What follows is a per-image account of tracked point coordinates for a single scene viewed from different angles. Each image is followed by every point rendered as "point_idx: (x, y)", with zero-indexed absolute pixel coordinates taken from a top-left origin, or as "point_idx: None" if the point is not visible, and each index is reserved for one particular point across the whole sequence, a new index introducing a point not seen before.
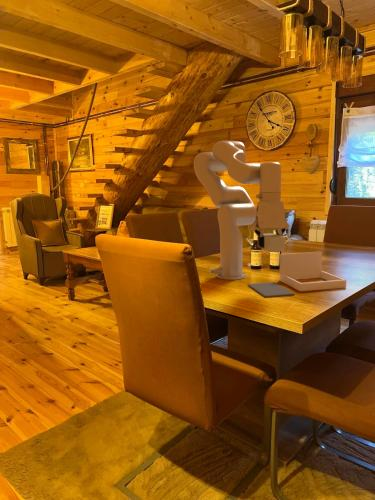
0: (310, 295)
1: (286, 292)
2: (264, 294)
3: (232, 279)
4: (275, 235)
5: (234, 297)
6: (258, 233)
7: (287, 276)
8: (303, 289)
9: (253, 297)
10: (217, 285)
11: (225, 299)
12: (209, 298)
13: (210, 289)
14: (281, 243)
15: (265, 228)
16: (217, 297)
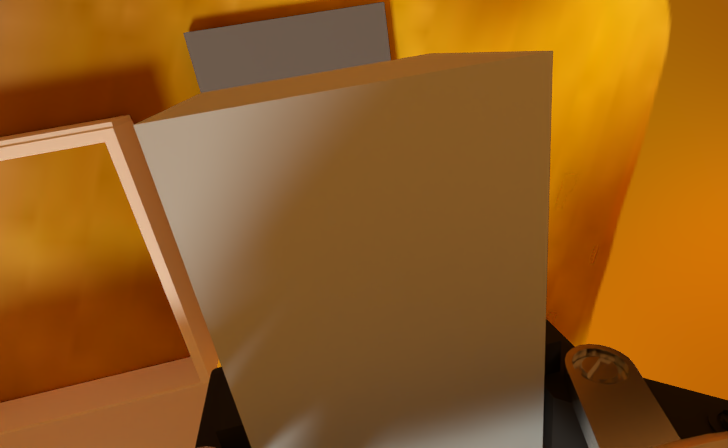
0: (70, 26)
1: (233, 65)
2: (380, 37)
3: None
4: (327, 392)
5: (538, 47)
6: (670, 401)
7: (175, 314)
8: (102, 120)
9: (441, 32)
10: (550, 277)
11: (593, 13)
12: (658, 46)
13: (601, 210)
14: (256, 89)
15: (691, 446)
16: (617, 59)
